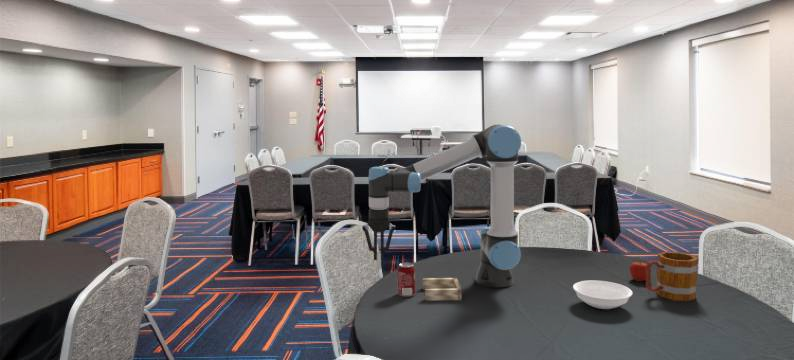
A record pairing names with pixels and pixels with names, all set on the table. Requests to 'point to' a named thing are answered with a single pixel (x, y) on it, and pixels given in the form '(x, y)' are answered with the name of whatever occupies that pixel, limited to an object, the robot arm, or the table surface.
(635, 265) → the apple
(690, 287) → the mug
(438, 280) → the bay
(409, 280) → the soda can
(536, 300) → the table surface
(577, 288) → the bowl
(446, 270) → the table surface
